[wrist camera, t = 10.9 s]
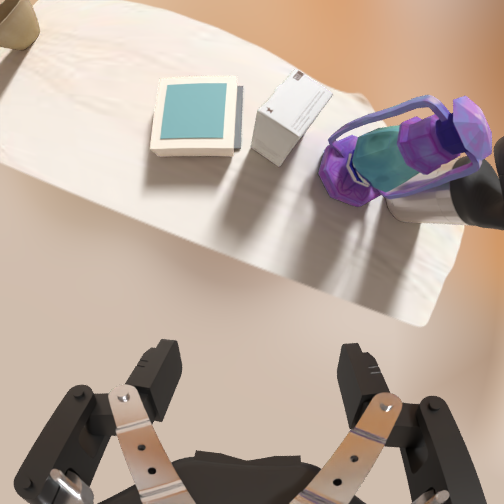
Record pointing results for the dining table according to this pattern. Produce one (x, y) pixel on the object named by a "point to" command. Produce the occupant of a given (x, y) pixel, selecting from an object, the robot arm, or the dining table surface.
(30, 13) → the plant pot
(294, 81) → the skincare box
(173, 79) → the block
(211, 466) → the robot arm
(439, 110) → the lantern
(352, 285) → the dining table surface
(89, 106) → the dining table surface
